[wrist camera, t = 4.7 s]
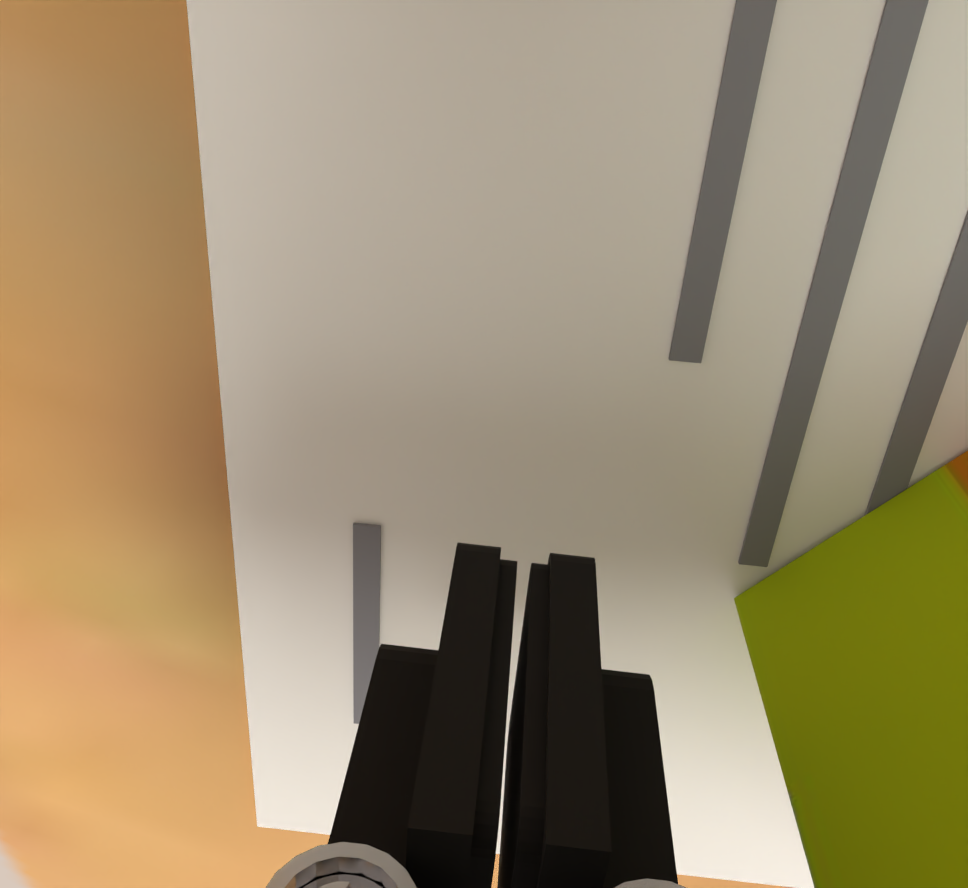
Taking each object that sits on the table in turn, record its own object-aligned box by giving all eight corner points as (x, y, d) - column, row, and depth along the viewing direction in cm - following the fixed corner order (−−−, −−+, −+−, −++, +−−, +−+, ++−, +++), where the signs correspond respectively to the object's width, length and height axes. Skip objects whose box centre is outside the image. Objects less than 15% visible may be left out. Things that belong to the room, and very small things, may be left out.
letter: (108, -971, 7) (98, -990, 6) (1968, -878, 6) (2001, -898, 6) (258, 821, 16) (255, 829, 16) (973, 902, 16) (977, 911, 16)
